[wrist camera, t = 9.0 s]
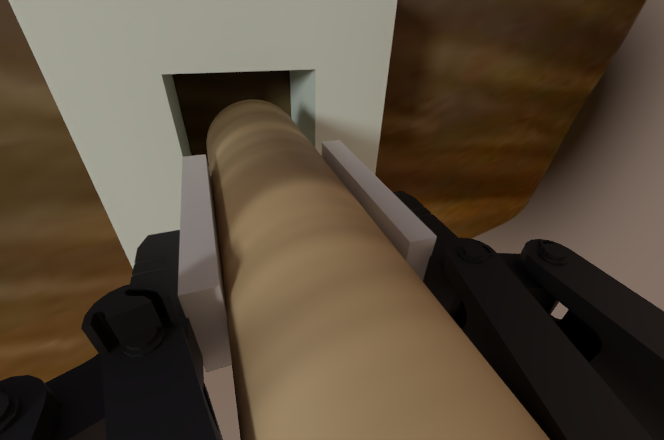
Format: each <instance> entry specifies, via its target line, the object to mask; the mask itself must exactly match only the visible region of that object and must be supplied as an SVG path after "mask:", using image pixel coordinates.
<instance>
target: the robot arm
mask: <svg viewBox="0 0 664 440" xmlns="http://www.w3.org/2000/svg"><path fill="white" fill-rule="evenodd" d="M322 157H323V159H324V160H325V161H326V162H327V164H328V165H329V166H330V167H331V168H332V170H333V171H334V172H335V173H336V175H337V176H338V177H339V178H340V180H341V181H342V182H343V183H344V185H345V186H346V187H347V188H348V190H349V191H350V192H351V193H352V195H353V196H354V197H355V198H356V199H357V201H358V202H359V203H360V204H361V206H362V207H363V208H364V209H365V211H366V212H367V213H368V214H369V216H370V217H371V218H372V219H373V221H374V222H375V223H376V224H377V226H378V227H379V228H380V229H381V230H382V232H383V233H384V234H385V235H386V237H387V238H388V239H389V240H390V242H391V243H392V244H393V245H394V247H395V248H396V249H397V250H398V252H399V253H400V254H401V255H402V257H403V258H404V259H405V260H406V262H407V263H408V264H409V265H410V266H411V268H412V269H413V270H414V271H415V273H416V274H417V275H418V276H419V278H420V279H421V280H422V281H423V283H424V284H425V285H426V286H427V288H428V289H429V290H430V291H431V293H432V294H433V295H434V296H435V297H436V299H437V300H438V301H439V302H440V304H441V305H442V306H443V307H444V309H445V310H446V311H447V312H448V314H449V315H450V316H451V317H452V319H453V320H454V321H455V322H456V324H457V325H458V326H459V327H460V328H461V330H462V331H463V332H464V333H465V335H466V336H467V337H468V338H469V340H470V341H471V342H472V343H473V345H474V346H475V347H476V348H477V350H478V351H479V352H480V353H481V355H482V356H483V357H484V358H485V359H486V361H487V362H488V363H489V364H490V366H491V367H492V368H493V369H494V371H495V372H496V373H497V374H498V376H499V377H500V378H501V379H502V381H503V382H504V383H505V384H506V386H507V387H508V388H509V389H510V390H511V392H512V393H513V394H514V395H515V397H516V398H517V399H518V400H519V402H520V403H521V404H522V405H523V407H524V408H525V409H526V410H527V412H528V413H529V414H530V415H531V417H532V418H533V419H534V420H535V422H536V423H537V424H538V425H539V426H540V428H541V429H542V430H543V431H544V433H545V434H546V435H547V436H548V438H549V439H550V440H664V311H662V310H661V309H659V308H657V307H656V306H655V305H653V304H652V303H650V302H649V301H647V300H646V299H644V298H643V297H641V296H640V295H638V294H637V293H635V292H633V291H632V290H631V289H629V288H627V287H626V286H625V285H623V284H622V283H620V282H618V281H617V280H615V279H614V278H612V277H611V276H609V275H608V274H606V273H605V272H603V271H602V270H600V269H599V268H597V267H596V266H594V265H593V264H591V263H590V262H588V261H587V260H585V259H584V258H582V257H581V256H579V255H578V254H576V253H575V252H573V251H572V250H570V249H568V248H566V247H565V246H563V245H561V244H558V243H555V242H553V241H549V240H542V239H535V240H530V241H529V242H527V243H526V244H525V246H524V248H523V250H522V252H521V254H507V253H496V252H495V251H494V250H493V249H492V248H491V247H490V246H488V245H486V244H484V243H482V242H480V241H477V240H474V239H470V238H458V237H457V236H456V235H455V234H454V233H453V232H451V231H450V230H449V229H448V228H447V227H446V226H445V225H444V224H443V223H442V222H441V221H439V220H438V219H437V218H436V217H435V216H434V215H431V212H430V211H428V210H427V209H426V208H424V207H423V205H422V204H421V203H420V202H419V201H418V200H416V199H415V198H414V197H412V196H410V195H408V194H406V193H404V192H402V191H398V192H392V191H390V190H389V189H388V188H387V187H386V186H385V185H384V184H383V183H382V182H381V181H380V180H379V179H378V178H377V177H376V176H375V175H374V174H373V173H372V172H371V171H370V170H369V169H368V168H367V167H366V166H365V165H364V164H363V163H362V162H361V161H360V160H359V159H358V158H357V157H356V156H355V155H354V154H353V153H352V152H351V151H350V150H349V149H348V148H347V147H346V146H345V145H344V144H343V143H342V142H341V141H340V140H336V141H326V142H322ZM132 275H133V277H131V282H130V284H129V285H125V286H122V287H120V288H118V289H116V290H114V291H111V292H109V293H108V294H106V295H105V296H104V297H102V298H101V299H100V300H98V301H97V302H96V303H94V305H93V306H92V307H91V308H90V310H89V311H88V312H87V313H86V315H85V317H84V320H83V324H82V327H81V328H82V330H83V331H84V333H85V334H86V335H87V337H88V338H89V340H90V341H91V343H92V344H93V346H94V347H95V348H96V350H97V351H98V353H99V354H97V355H96V356H95V357H93V358H92V359H90V360H88V361H87V362H85V363H83V364H82V365H80V366H78V367H76V368H74V369H72V370H70V371H68V372H66V373H64V374H62V375H60V376H58V377H56V378H54V379H52V380H50V381H48V382H46V383H44V382H43V381H42V380H41V379H39V378H36V377H33V376H30V375H25V376H15V377H10V378H7V379H4V380H2V381H0V440H223V439H222V435H221V432H220V429H219V426H218V423H217V420H216V417H215V413H214V410H213V407H212V404H211V401H210V398H209V395H208V392H207V389H206V387H205V384H204V377H203V365H204V367H205V370H206V372H209V371H213V370H216V369H219V368H223V367H226V366H229V365H232V361H231V352H230V344H229V335H228V326H227V310H226V302H225V294H224V285H223V277H222V269H221V260H220V252H219V243H218V235H217V227H216V218H215V210H214V202H213V193H212V185H211V177H210V173H209V168H208V163H207V159H206V154H204V155H195V156H185V157H183V158H182V187H181V215H180V230H175V231H169V232H163V233H158V234H152V235H148V236H147V237H146V238H145V239H144V241H143V242H142V243H141V244H140V246H139V247H138V248H137V252H136V257H135V265H134V267H133V272H132ZM558 302H560V303H562V304H563V305H564V306H565V307H567V308H568V309H569V310H568V312H567V313H566V314H565V316H564V317H563V318H562V319H557V318H554V317H553V316H552V315H550V314H551V313H552V311H553V310H554V308H555V307H556V305H557V304H558Z"/></svg>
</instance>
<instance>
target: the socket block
mask: <svg viewBox="0 0 664 440" xmlns="http://www.w3.org/2000/svg"><path fill="white" fill-rule="evenodd" d="M9 2H10V4H11V7H12V9H13V11H14V13H15V15H16V17H17V20H18V22H19V24H20V26H21V28H22V30H23V32H24V35H25V37H26V39H27V41H28V43H29V45H30V48H31V50H32V52H33V54H34V56H35V58H36V61H37V63H38V65H39V67H40V69H41V71H42V74H43V76H44V78H45V80H46V82H47V84H48V87H49V89H50V91H51V93H52V95H53V97H54V100H55V102H56V104H57V106H58V108H59V110H60V113H61V115H62V117H63V119H64V121H65V123H66V126H67V128H68V130H69V132H70V134H71V136H72V138H73V141H74V143H75V145H76V147H77V149H78V151H79V154H80V156H81V158H82V160H83V162H84V164H85V167H86V169H87V171H88V173H89V175H90V177H91V180H92V182H93V184H94V186H95V188H96V190H97V193H98V195H99V197H100V199H101V201H102V203H103V206H104V208H105V210H106V212H107V214H108V216H109V219H110V221H111V223H112V225H113V227H114V229H115V232H116V234H117V236H118V238H119V240H120V242H121V244H122V247H123V249H124V251H125V253H126V255H127V257H128V260H129V262H130V264H131V266H132V268H133V267H134V265H135V257H136V252H137V248H138V247H139V246H140V244H141V243H142V242H143V241H144V239H145V238H146V237H147V236H148V235H152V234H158V233H163V232H169V231H175V230H180V215H181V187H182V158H183V157H185V156H192V155H191V151H190V147H189V142H188V138H187V134H186V130H185V126H184V122H183V118H182V113H181V109H180V105H179V101H178V97H177V93H176V89H175V84H174V80H173V76H172V74H190V73H220V72H250V71H280V70H289V71H290V95H291V119H292V120H293V121H294V123H295V124H296V125H297V126H298V128H299V129H300V130H301V131H302V133H303V134H304V135H305V136H306V137H307V139H308V140H309V141H310V142H311V144H312V145H313V146H314V147H315V149H316V150H317V151H318V152H319V154H320V155H321V156H322V142H326V141H336V140H340V141H341V142H342V143H343V144H344V145H345V146H346V147H347V148H348V149H349V150H350V151H351V152H352V153H353V154H354V155H355V156H356V157H357V158H358V159H359V160H360V161H361V162H362V163H363V164H364V165H365V166H366V167H367V168H368V169H369V170H370V171H371V172H372V173H373V174H374V175H375V173H376V165H377V157H378V149H379V141H380V133H381V125H382V118H383V110H384V102H385V94H386V86H387V78H388V70H389V63H390V55H391V47H392V39H393V31H394V23H395V15H396V8H397V0H9ZM208 168H209V166H208ZM209 173H210V172H209Z"/></svg>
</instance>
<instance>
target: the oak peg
mask: <svg viewBox="0 0 664 440" xmlns="http://www.w3.org/2000/svg"><path fill="white" fill-rule="evenodd" d="M206 146H207V155H208V164H209V172H210V177H211V185H212V193H213V202H214V210H215V218H216V227H217V235H218V243H219V252H220V260H221V269H222V277H223V285H224V294H225V302H226V310H227V326H228V335H229V344H230V352H231V361H232V369H233V378H234V385H235V395H236V403H237V411H238V421H239V429H240V438H241V440H550V439H549V438H548V436H547V435H546V434H545V433H544V431H543V430H542V429H541V428H540V426H539V425H538V424H537V423H536V422H535V420H534V419H533V418H532V417H531V415H530V414H529V413H528V412H527V410H526V409H525V408H524V407H523V405H522V404H521V403H520V402H519V400H518V399H517V398H516V397H515V395H514V394H513V393H512V392H511V390H510V389H509V388H508V387H507V386H506V384H505V383H504V382H503V381H502V379H501V378H500V377H499V376H498V374H497V373H496V372H495V371H494V369H493V368H492V367H491V366H490V364H489V363H488V362H487V361H486V359H485V358H484V357H483V356H482V355H481V353H480V352H479V351H478V350H477V348H476V347H475V346H474V345H473V343H472V342H471V341H470V340H469V338H468V337H467V336H466V335H465V333H464V332H463V331H462V330H461V328H460V327H459V326H458V325H457V324H456V322H455V321H454V320H453V319H452V317H451V316H450V315H449V314H448V312H447V311H446V310H445V309H444V307H443V306H442V305H441V304H440V302H439V301H438V300H437V299H436V297H435V296H434V295H433V294H432V293H431V291H430V290H429V289H428V288H427V286H426V285H425V284H424V283H423V281H422V280H421V279H420V278H419V276H418V275H417V274H416V273H415V271H414V270H413V269H412V268H411V266H410V265H409V264H408V263H407V262H406V260H405V259H404V258H403V257H402V255H401V254H400V253H399V252H398V250H397V249H396V248H395V247H394V245H393V244H392V243H391V242H390V240H389V239H388V238H387V237H386V235H385V234H384V233H383V232H382V230H381V229H380V228H379V227H378V226H377V224H376V223H375V222H374V221H373V219H372V218H371V217H370V216H369V214H368V213H367V212H366V211H365V209H364V208H363V207H362V206H361V204H360V203H359V202H358V201H357V199H356V198H355V197H354V196H353V195H352V193H351V192H350V191H349V190H348V188H347V187H346V186H345V185H344V183H343V182H342V181H341V180H340V178H339V177H338V176H337V175H336V173H335V172H334V171H333V170H332V168H331V167H330V166H329V165H328V164H327V162H326V161H325V160H324V159H323V157H322V156H321V155H320V154H319V152H318V151H317V150H316V149H315V147H314V146H313V145H312V144H311V142H310V141H309V140H308V139H307V137H306V136H305V135H304V134H303V133H302V131H301V130H300V129H299V128H298V126H297V125H296V124H295V123H294V121H293V120H292V119H291V118H290V116H289V115H288V114H287V113H286V112H285V111H284V110H282V109H281V108H280V107H278V106H276V105H274V104H272V103H270V102H267V101H263V100H255V99H250V100H243V101H239V102H236V103H233V104H231V105H229V106H228V107H226V108H224V109H223V110H222V111H221V112H220V113H219V114H218V115H217V116H216V117H215V118H214V120H213V121H212V123H211V125H210V127H209V130H208V133H207V139H206Z"/></svg>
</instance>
